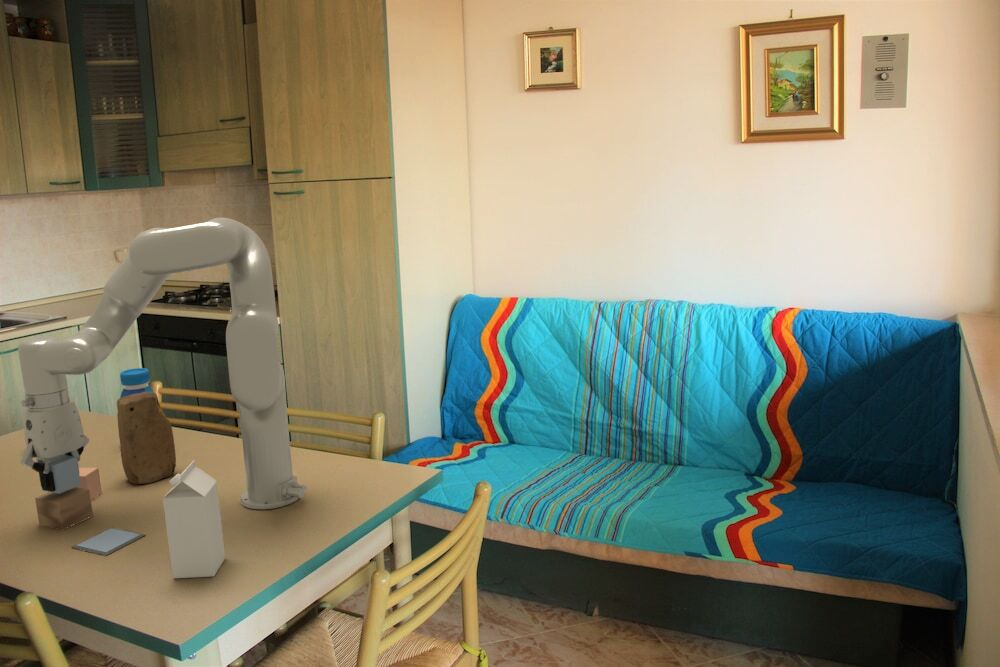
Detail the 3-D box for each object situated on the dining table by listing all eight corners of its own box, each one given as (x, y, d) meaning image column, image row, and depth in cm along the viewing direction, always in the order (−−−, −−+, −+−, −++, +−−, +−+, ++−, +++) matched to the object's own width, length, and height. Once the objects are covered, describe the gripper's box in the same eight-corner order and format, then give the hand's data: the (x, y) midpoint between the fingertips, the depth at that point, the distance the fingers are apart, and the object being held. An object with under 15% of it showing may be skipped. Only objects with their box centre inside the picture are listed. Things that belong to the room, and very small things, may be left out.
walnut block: (93, 516, 173) (89, 489, 172) (63, 530, 167) (59, 502, 165) (69, 512, 176) (65, 485, 174) (39, 525, 169) (35, 497, 168)
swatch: (145, 535, 163) (145, 533, 163) (106, 556, 154) (105, 554, 154) (111, 528, 166) (111, 526, 166) (71, 548, 158) (71, 546, 158)
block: (132, 488, 187) (120, 402, 183) (122, 479, 193) (111, 396, 189) (180, 475, 194) (170, 392, 190) (170, 467, 199) (160, 386, 195)
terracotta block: (101, 493, 185) (98, 467, 184) (89, 502, 180) (85, 476, 179) (80, 493, 186) (76, 467, 184) (67, 502, 181) (63, 476, 180)
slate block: (80, 484, 171) (76, 456, 170) (59, 493, 166) (54, 465, 165) (64, 481, 173) (59, 454, 172) (42, 490, 169) (37, 462, 167)
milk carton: (225, 558, 152) (214, 459, 148) (214, 577, 145) (201, 474, 141) (186, 560, 152) (174, 461, 148) (172, 579, 145) (159, 476, 141)
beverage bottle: (168, 443, 217) (159, 368, 213) (139, 453, 210) (129, 376, 206) (148, 438, 221) (138, 365, 217) (119, 448, 214) (108, 373, 210)
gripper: (20, 413, 157) (35, 503, 161) (97, 389, 172) (109, 472, 176) (-6, 409, 160) (9, 498, 164) (72, 386, 175) (84, 468, 179)
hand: (61, 484), depth 170 cm, fingers closed on slate block, 4 cm apart
